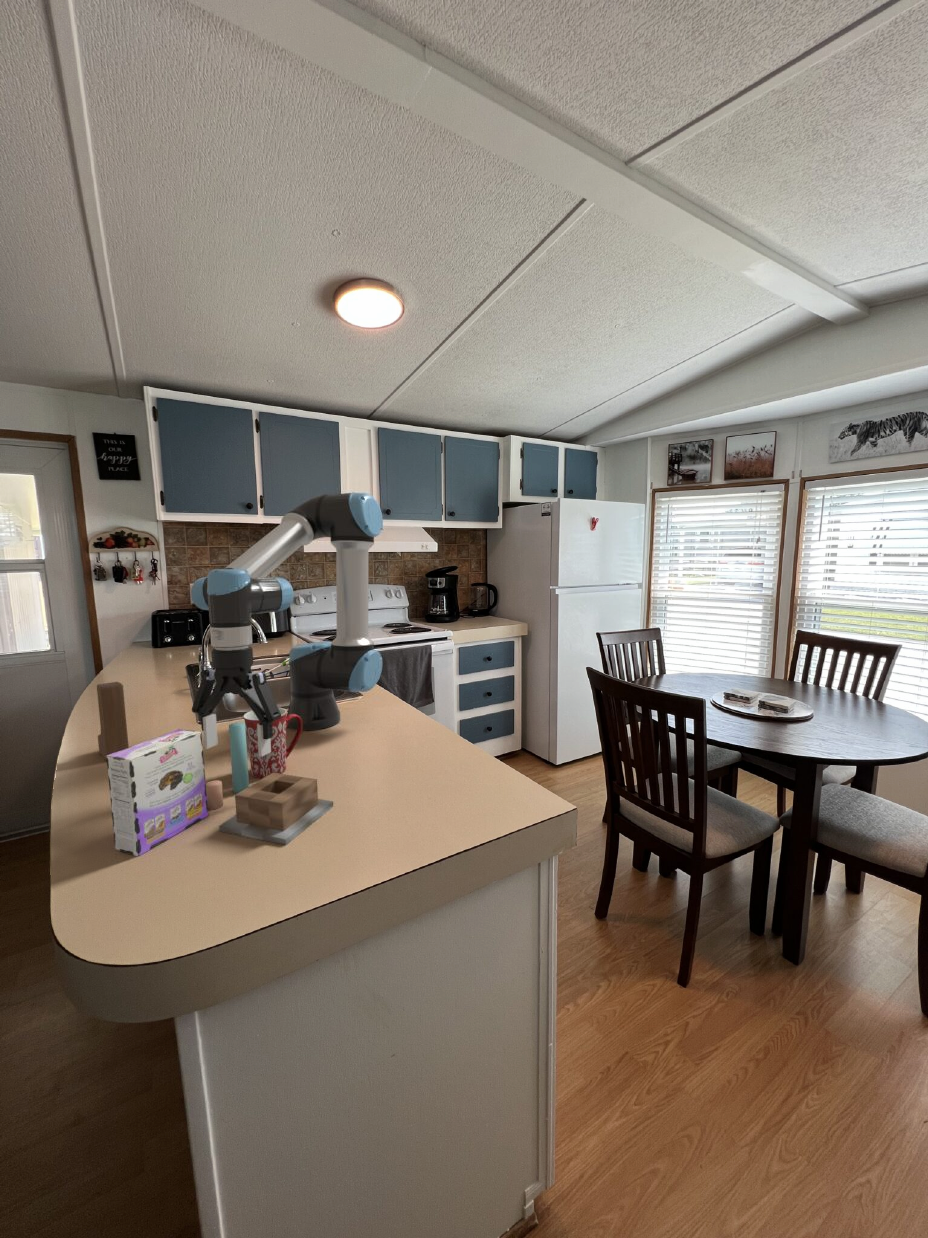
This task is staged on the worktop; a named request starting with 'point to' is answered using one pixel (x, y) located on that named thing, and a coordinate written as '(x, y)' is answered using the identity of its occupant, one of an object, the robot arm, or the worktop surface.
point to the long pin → (238, 756)
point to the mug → (279, 753)
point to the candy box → (156, 790)
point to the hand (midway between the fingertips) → (237, 750)
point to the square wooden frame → (276, 808)
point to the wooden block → (112, 718)
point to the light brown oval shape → (214, 795)
